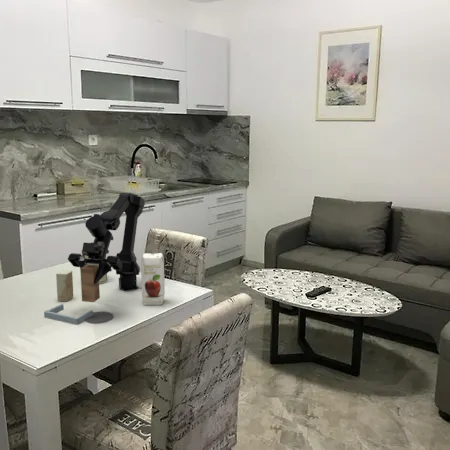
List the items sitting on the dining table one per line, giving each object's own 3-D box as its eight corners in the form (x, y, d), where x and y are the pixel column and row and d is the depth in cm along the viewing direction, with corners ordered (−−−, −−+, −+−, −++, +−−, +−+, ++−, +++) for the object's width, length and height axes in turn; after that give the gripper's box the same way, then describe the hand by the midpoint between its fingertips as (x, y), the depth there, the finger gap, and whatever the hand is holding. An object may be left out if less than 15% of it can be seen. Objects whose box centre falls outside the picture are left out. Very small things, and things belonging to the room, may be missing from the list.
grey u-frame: (61, 309, 180) (61, 303, 180) (93, 316, 174) (93, 310, 173) (44, 316, 173) (43, 311, 172) (76, 324, 166) (76, 319, 166)
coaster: (107, 310, 179) (107, 309, 179) (117, 319, 171) (117, 318, 171) (80, 315, 174) (80, 314, 174) (89, 325, 166) (88, 324, 165)
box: (67, 301, 187) (65, 274, 185) (57, 301, 188) (55, 273, 186) (74, 297, 192) (72, 270, 190) (64, 296, 193) (62, 269, 191)
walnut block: (88, 296, 174) (86, 264, 171) (99, 297, 173) (98, 265, 170) (82, 301, 169) (80, 268, 167) (93, 302, 168) (92, 269, 166)
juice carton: (143, 299, 191) (141, 252, 187) (165, 298, 192) (164, 252, 188) (141, 306, 184) (140, 257, 180) (164, 305, 184) (163, 257, 181)
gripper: (68, 231, 172) (53, 270, 164) (117, 234, 168) (105, 274, 160) (80, 247, 181) (67, 284, 173) (127, 250, 177) (116, 288, 169)
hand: (88, 283), depth 168 cm, fingers closed on walnut block, 4 cm apart
